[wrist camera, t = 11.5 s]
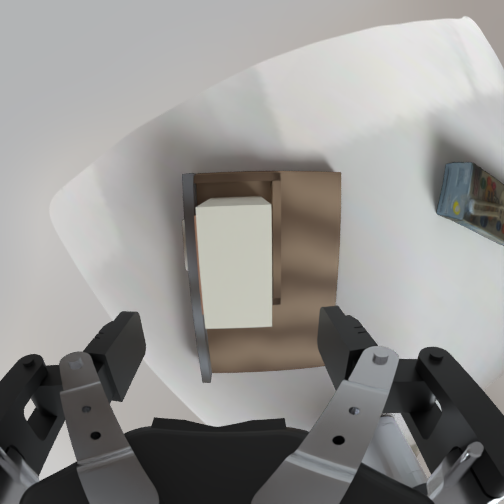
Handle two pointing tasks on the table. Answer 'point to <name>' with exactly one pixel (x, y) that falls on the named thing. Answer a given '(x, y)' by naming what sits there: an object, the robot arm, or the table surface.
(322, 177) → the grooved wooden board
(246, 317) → the tea box
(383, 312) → the table surface
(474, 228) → the beverage carton
